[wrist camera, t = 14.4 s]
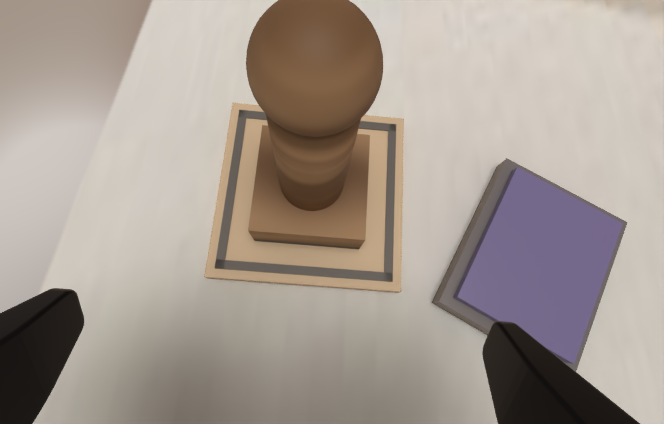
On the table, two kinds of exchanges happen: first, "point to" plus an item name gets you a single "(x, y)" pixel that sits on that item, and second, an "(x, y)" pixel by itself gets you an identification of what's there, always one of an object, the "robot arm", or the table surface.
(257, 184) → the stamp
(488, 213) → the ink pad
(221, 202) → the beige square tile
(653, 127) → the table surface
